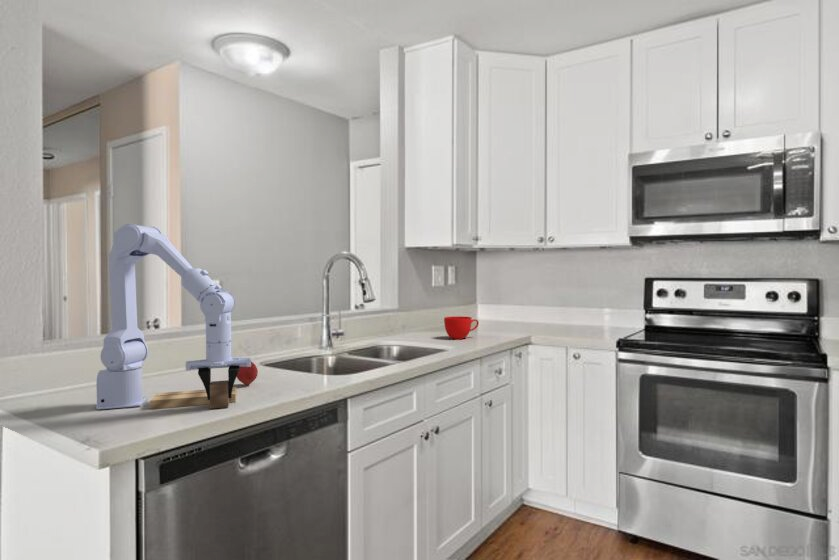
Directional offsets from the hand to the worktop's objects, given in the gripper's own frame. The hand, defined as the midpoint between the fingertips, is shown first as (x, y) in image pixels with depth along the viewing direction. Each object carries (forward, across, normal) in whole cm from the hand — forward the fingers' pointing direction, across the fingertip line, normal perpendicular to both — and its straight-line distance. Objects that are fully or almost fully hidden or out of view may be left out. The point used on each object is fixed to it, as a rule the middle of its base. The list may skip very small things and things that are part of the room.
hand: (219, 398), depth 123 cm
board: (+2, -6, +7) cm, 9 cm away
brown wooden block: (+2, 0, +2) cm, 3 cm away
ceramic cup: (+2, +102, +94) cm, 138 cm away
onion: (+2, +6, +22) cm, 23 cm away
